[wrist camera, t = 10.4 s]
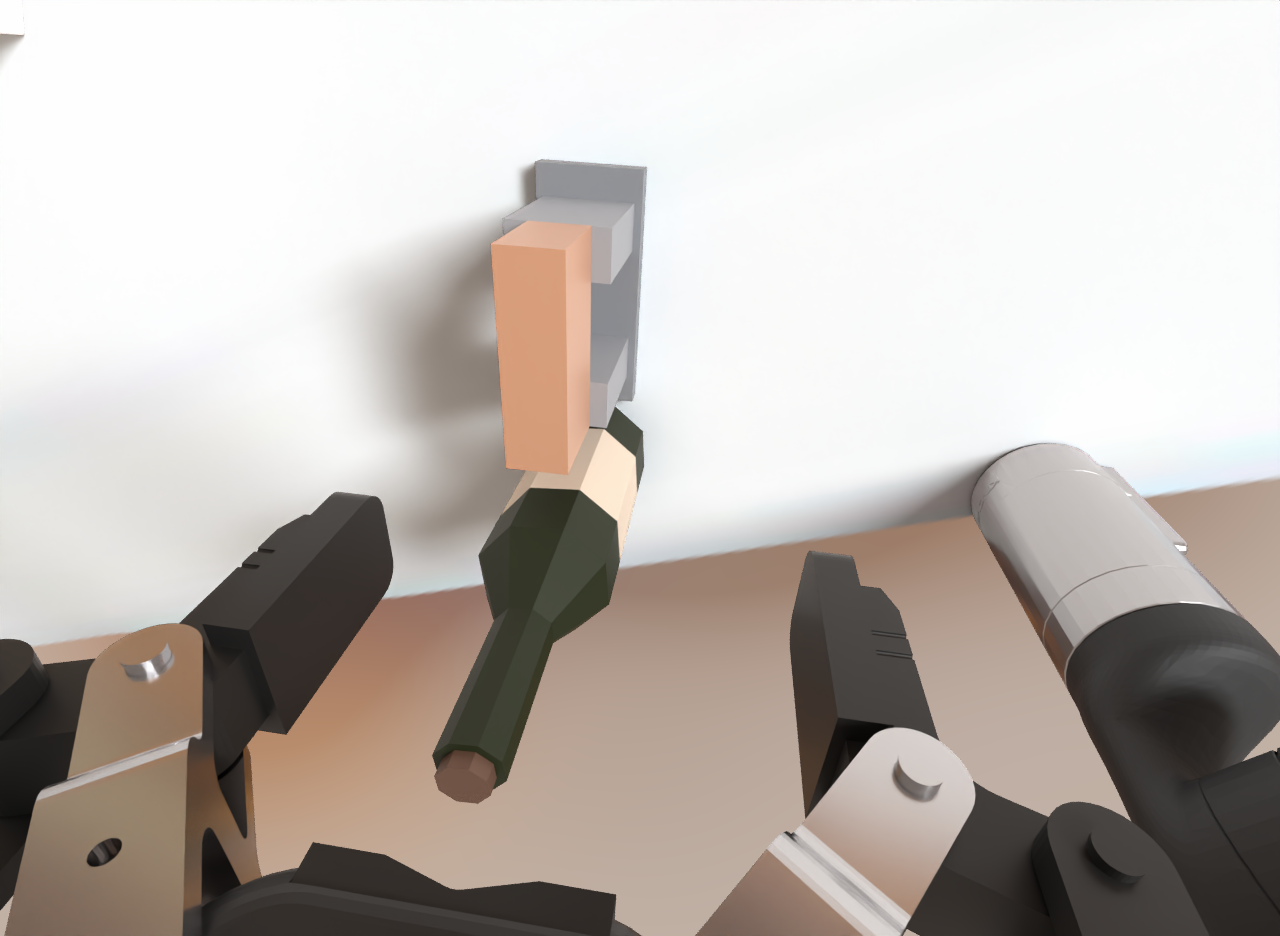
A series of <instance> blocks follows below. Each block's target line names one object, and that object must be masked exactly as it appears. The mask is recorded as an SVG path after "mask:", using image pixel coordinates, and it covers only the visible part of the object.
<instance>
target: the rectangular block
mask: <svg viewBox="0 0 1280 936" xmlns="http://www.w3.org/2000/svg"><path fill="white" fill-rule="evenodd" d="M591 230H592V226H591V225H578V224H565V223H552V222H539V221H526V222H525V223H523V224H521V225H520V226H518V227H517V228H515V229H513V230H512V231H510V232H509V233H507V234H505V235H504V236H502V237H501V238H499V239H497V240H496V241H494V242H493V243H491V256H492V270H493V285H494V300H495V314H496V329H497V343H498V358H499V372H500V387H501V402H502V416H503V431H504V445H505V460H506V468H509V469H518V470H527V471H536V472H545V473H554V474H563V475H568V474H569V472H570V469H571V467H572V465H573V463H574V460H575V458H576V456H577V454H578V451H579V449H580V447H581V445H582V442H583V440H584V438H585V435H586V433H587V431H588V429H589V426H590V338H591Z"/></svg>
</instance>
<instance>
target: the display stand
mask: <svg viewBox="0 0 1280 936" xmlns="http://www.w3.org/2000/svg"><path fill="white" fill-rule="evenodd" d="M535 175H536V200H535V201H534V202H532V203H530V204H528V205H526V206H525V207H523V208H521V209H519V210H517V211H516V212H514V213H512V214H510V215H508V216H507V217H505V218H503V235H505V234H507V233H509V232H510V231H512V230H513V229H515V228H517V227H518V226H520V225H521V224H523V223H525V222H526V221H539V222H552V223H565V224H578V225H591V226H592V230H591V338H590V426H592V427H601V428H607V425H608V423H609V420H610V418H611V415H612V413H613V410H614V407H615V405H616V402H617V400H623V401H632V400H633V397H634V394H635V382H636V363H637V344H638V325H639V307H640V288H641V269H642V250H643V231H644V213H645V194H646V175H647V167H638V166H625V165H611V164H597V163H584V162H570V161H556V160H543V159H541V160H538V161H536V162H535Z"/></svg>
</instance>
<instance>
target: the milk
mask: <svg viewBox="0 0 1280 936" xmlns="http://www.w3.org/2000/svg"><path fill="white" fill-rule="evenodd" d="M0 34H13V35H24V20H23V6H22V0H0Z"/></svg>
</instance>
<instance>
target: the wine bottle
mask: <svg viewBox="0 0 1280 936" xmlns="http://www.w3.org/2000/svg"><path fill="white" fill-rule="evenodd" d="M643 468H644V453H643V431H642V430H641V429H639V428H638V427H637V426H636V425H635V424H634V423H633V422H632V421H631V420H629V419H628V418H627V417H626V416H625V415H624V414H623V413H622V412H621V411H619V410H618V409H617V408H616V407H614V410H613V413H612V415H611V418H610V420H609V423H608V425H607V428H601V427H592V426H589V429H588V431H587V433H586V435H585V438H584V440H583V442H582V445H581V447H580V449H579V451H578V454H577V456H576V458H575V460H574V463H573V465H572V467H571V469H570V472H569V474H568V475H563V474H554V473H545V472H536V471H527V470H526V471H525V473H524V475H523V477H522V478H521V480H520V482H519V484H518V485H517V487H516V489H515V491H514V493H513V494H512V496H511V498H510V500H509V502H508V503H507V505H506V507H505V509H504V511H503V512H502V514H501V516H500V518H499V520H498V521H497V523H496V525H495V527H494V528H493V530H492V532H491V534H490V536H489V537H488V539H487V541H486V543H485V545H484V546H483V548H482V550H481V552H480V554H479V560H480V565H481V570H482V575H483V580H484V585H485V589H486V594H487V599H488V602H489V605H490V609H491V612H492V616H493V619H494V622H493V624H492V627H491V629H490V631H489V633H488V635H487V637H486V640H485V642H484V644H483V646H482V648H481V650H480V653H479V655H478V657H477V659H476V661H475V663H474V666H473V668H472V670H471V672H470V674H469V677H468V679H467V681H466V683H465V685H464V688H463V689H462V692H461V694H460V696H459V698H458V700H457V703H456V705H455V707H454V709H453V711H452V713H451V716H450V718H449V720H448V722H447V724H446V726H445V729H444V731H443V733H442V735H441V737H440V740H439V742H438V744H437V746H436V748H435V750H434V753H433V755H432V756H433V759H434V762H435V766H436V769H437V772H436V774H435V776H434V777H435V780H436V783H437V786H438V789H439V790H440V791H441V792H443V793H444V794H446V795H447V796H449V797H451V798H452V799H454V800H456V801H459V802H469V803H477V804H478V803H479V802H481V801H483V800H484V799H486V798H488V797H489V796H491V793H492V790H493V789H495V788H496V787H498V786H500V785H501V784H503V783H504V782H506V781H507V778H508V775H509V772H510V769H511V766H512V763H513V761H514V758H515V754H516V752H517V748H518V746H519V743H520V740H521V737H522V733H523V731H524V728H525V725H526V722H527V719H528V716H529V713H530V710H531V707H532V704H533V701H534V698H535V695H536V692H537V689H538V686H539V683H540V680H541V677H542V674H543V671H544V668H545V665H546V662H547V659H548V656H549V653H550V650H551V647H552V644H553V643H554V642H556V641H557V640H559V639H560V638H562V637H563V636H565V635H567V634H569V633H570V632H572V631H573V630H575V629H576V628H578V627H579V626H580V625H582V624H583V623H584V622H586V621H587V620H589V619H590V618H591V617H593V616H594V615H595V614H597V613H598V612H599V611H601V610H602V609H603V608H604V607H606V606H607V605H609V602H610V598H611V594H612V590H613V586H614V582H615V578H616V575H617V571H618V567H619V563H620V559H621V555H622V551H623V547H624V543H625V539H626V535H627V531H628V527H629V523H630V519H631V515H632V511H633V507H634V503H635V499H636V495H637V491H638V487H639V484H640V480H641V476H642V472H643Z"/></svg>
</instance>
